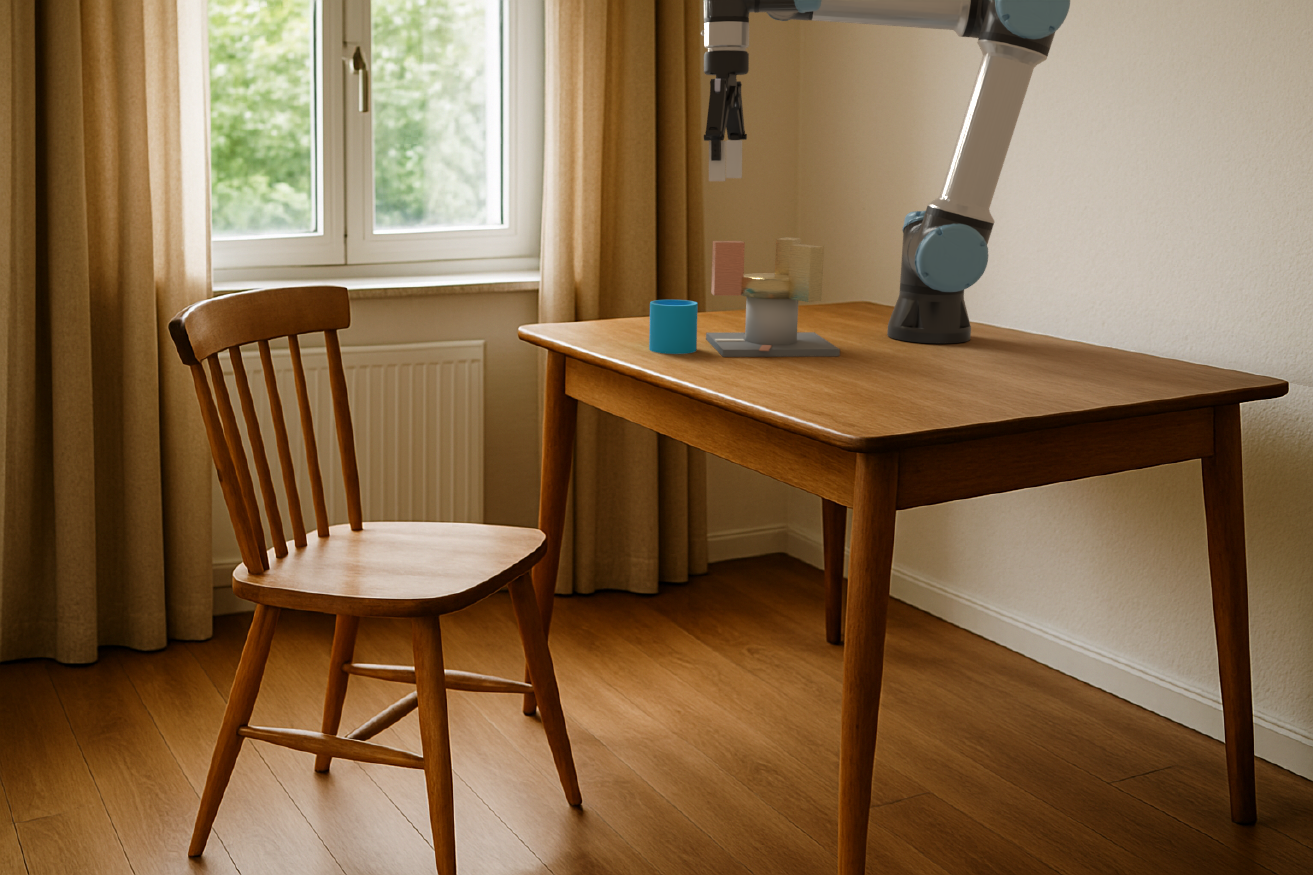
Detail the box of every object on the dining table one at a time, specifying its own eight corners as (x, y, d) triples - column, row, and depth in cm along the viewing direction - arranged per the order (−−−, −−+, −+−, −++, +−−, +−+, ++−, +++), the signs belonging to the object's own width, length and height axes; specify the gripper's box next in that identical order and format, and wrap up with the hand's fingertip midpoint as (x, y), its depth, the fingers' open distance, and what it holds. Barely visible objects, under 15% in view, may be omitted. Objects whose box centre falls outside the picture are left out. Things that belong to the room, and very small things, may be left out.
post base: (814, 338, 229) (816, 289, 227) (842, 358, 210) (845, 304, 208) (706, 339, 226) (707, 289, 224) (724, 358, 207) (726, 304, 205)
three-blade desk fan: (796, 287, 227) (798, 237, 225) (823, 302, 208) (826, 247, 206) (703, 287, 225) (705, 236, 223) (722, 302, 206) (724, 247, 204)
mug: (704, 352, 213) (705, 305, 211) (660, 355, 210) (660, 306, 208) (676, 341, 224) (677, 296, 222) (634, 343, 221) (634, 297, 219)
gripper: (720, 55, 222) (720, 177, 227) (686, 46, 199) (687, 182, 204) (762, 54, 220) (760, 177, 225) (732, 45, 197) (732, 182, 202)
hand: (725, 180), depth 214 cm, fingers open, 13 cm apart
